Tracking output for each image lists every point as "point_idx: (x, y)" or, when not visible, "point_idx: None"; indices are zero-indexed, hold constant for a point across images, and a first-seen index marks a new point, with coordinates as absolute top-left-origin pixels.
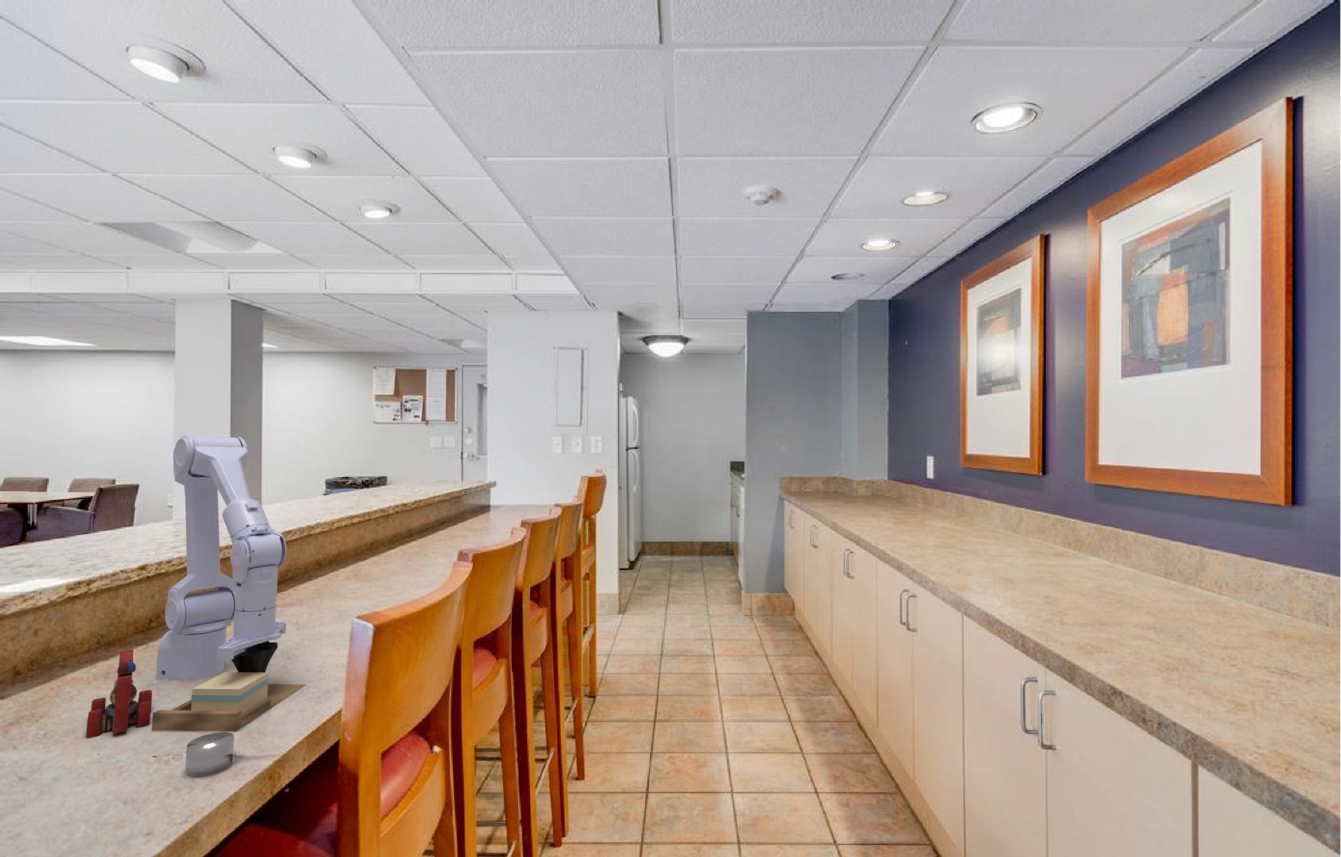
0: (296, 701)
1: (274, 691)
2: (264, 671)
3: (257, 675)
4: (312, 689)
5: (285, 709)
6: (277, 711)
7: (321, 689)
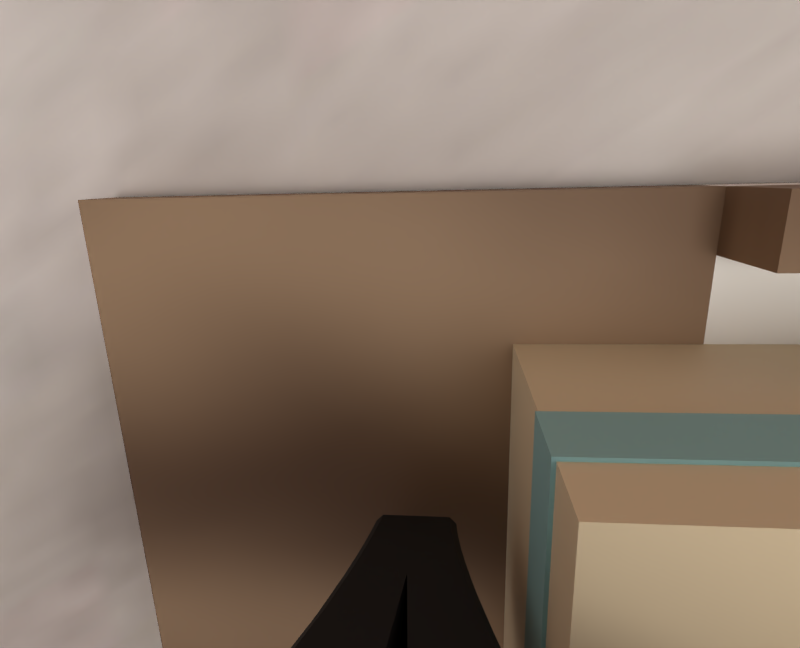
0: (368, 131)
1: (292, 403)
2: (334, 639)
3: (725, 627)
4: (83, 154)
5: (562, 119)
6: (608, 169)
7: (63, 60)
